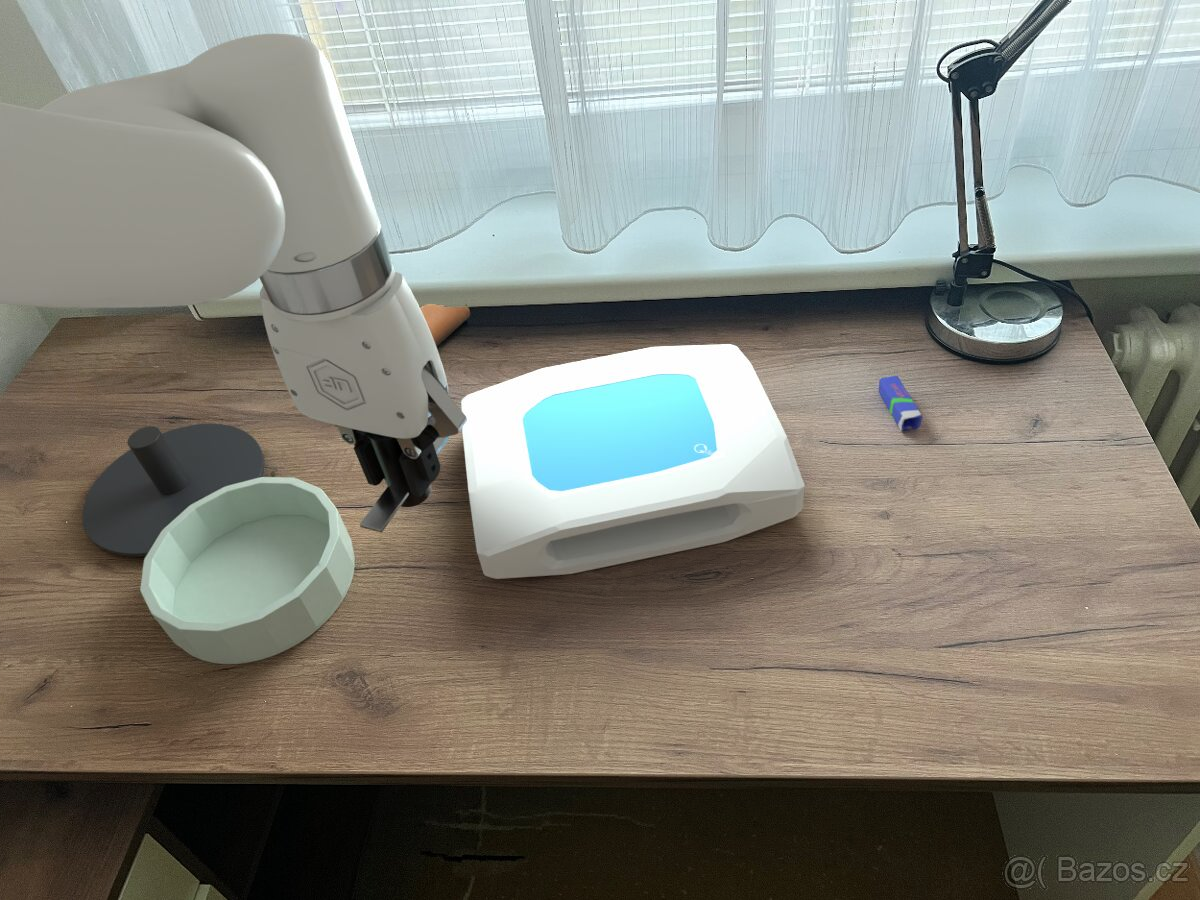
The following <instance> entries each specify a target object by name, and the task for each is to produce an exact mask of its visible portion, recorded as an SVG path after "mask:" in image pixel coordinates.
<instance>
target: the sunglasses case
mask: <svg viewBox="0 0 1200 900" xmlns="http://www.w3.org/2000/svg"><path fill="white" fill-rule="evenodd" d="M423 305H424V306H423ZM423 305H421V306H422V307H420V309H421V311H422V314H423V316H424V318H425V320H426V322H427V325H428V327H429V329H430V332H431V334H432V337H433V339H434V342H435V345H436V347H437V348H438V346H439V345H440V344H442V343H443V342H444V341H445V340H446V339H447V338H448V337H449V336H450V335H451V334H452V333H453V332H455V331H456V330H457V329H458V328H459V327H460V326H461V325H462V324H463V323H464V322H465V321H466V320H468V319H469V318H470V316H471V311H470V310H471V309H470V308H469V306H468V307H444V305H436V304H429V303H427V304H423Z"/></svg>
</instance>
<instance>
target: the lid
mask: <svg viewBox="0 0 1200 900" xmlns="http://www.w3.org/2000/svg"><path fill="white" fill-rule="evenodd" d="M126 444H127V446H128V447H129V449H128V450H127V451H125V452H124V453H123V454H121V455H120V456H119V457H118V458H116V459H115V460H114V461H113V462H112V463H111V464H109V466H107V467H106V468H105V470H103V471H102V472H101V473H100V475H99V476H98V477H97V479H96V480H95V481H94V483H93V484H92V485H91V487H90V489H89V490H88V492H87V495H86V496H85V499H84V502H83V506H82V510H81V522H82V527H83V530H84V532H85V533H86V535H87V537H88V538H89V539H90V540H91V541H92V543H93V544H95V546H96V547H98V548H100V549H101V550H103V551H105V552H107V553H110V554H113V555H117V556H121V557H130V558H131V557H133V558H136V557H137V558H139V557H141V558H143V557H144V558H145V557H146V556H147V554H148V552H149V551H150V549H151V547H152V546H153V544H154V543H155V541H156V539H157V538H158V536H159V534H160V533H161V531H162V530H163V529H164V528H165V527H166V526H167V525H169V524H170V523H171V522H172V521H173V520H174V519H175V518H176V517H177V516H179V515H180V514H181V513H182V512H183V511H184V510H185V509H186V508H187V507H189V506H190V505H191V504H193V503H195V502H197V501H199V500H201V499H203V498H204V497H206V496H208V495H210V494H212V493H214V492H216V491H218V490H219V489H221V488H223V487H226V486H229V485H233V484H237V483H240V482H244V481H248V480H252V479H256V478H260V477H264V472H265V455H264V453H263V450H262V448H261V446H260V444H259V442H258V441H257V440H256V439H255V438H254V437H253V436H252V435H251V434H250V433H248V432H247V431H246V430H244V429H241V428H239V427H236V426H233V425H229V424H223V423H198V424H191V425H190V424H189V425H186V426H182V427H177V428H174V429H170V430H167V431H164V432H161V430H160V428H159V427H157V426H153V425H152V426H151V425H150V426H144V427H141V428H138V429H137V430H135V431H134V432H132V433H131V434H130V436H129V437H128V439H127V443H126Z"/></svg>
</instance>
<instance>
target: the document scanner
mask: <svg viewBox="0 0 1200 900" xmlns="http://www.w3.org/2000/svg"><path fill="white" fill-rule="evenodd" d="M460 403H461V411H462V412H463V413H464V414H465V416H466V417H467V421H466V423H465V424H464V426H463V427H462V429H461V430H462V440H463V451H464V460H465V470H466V471H465V472H466V479H467V480H466V481H467V489H468V497H469V505H470V506H469V507H470V512H471V521H472V527H473V533H474V540H475V547H476V548H475V549H476V554H477V557H478V560H479V564H480V566H481V570H482V573H483V575H484V576H485V577H488V578H490V579H491V578H492V579H495V580H500V579H513V578H514V579H516V578H517V579H518V578H529V577H532V578H533V577H545V576H560V575H572V574H577V573H581V572H587V571H592V570H596V569H601V568H607V567H612V566H616V565H620V564H621V565H622V564H626V563H630V562H634V561H639V560H645V559H649V558H654V557H658V556H659V557H660V556H664V555H669V554H674V553H679V552H683V551H688V550H693V549H698V548H702V547H706V546H707V547H708V546H712V545H717V544H721V543H725V542H726V543H727V542H729V541H731V540H734V539H737V538H739V537H742V536H745V535H748V534H751V533H753V532H757V531H759V530H762V529H766V528H768V527H771V526H773V525H776V524H779V523H782V522H784V521H787V520H790V519H793V518H795V517H796V516H797V515H798V514H799V513H800V512H801V511H802V510H803V509H804V501H805V500H804V499H805V491H806V490H805V488H806V485H805V482H804V480H803V477H802V474H801V471H800V468H799V466H798V463H797V460H796V458H795V455H794V452H793V449H792V446H791V443H790V440H789V438H788V435H787V433H786V432H785V429H784V428H783V425H782V424H781V421H780V419H779V417H778V415H777V413H776V410H775V409H774V407H773V405H772V403H771V401H770V399H769V397H768V395H767V393H766V391H765V388H764V386H763V385H762V383H761V381H760V379H759V376H758V374H757V373H756V371H755V368H754V367H753V365H752V363H751V362H750V361H749V359H748V358H747V357H746V356H745V355H744V353H743V352H742V351H741V350H740V348H739V347H738V346H737V345H734V344H731V343H729V344H728V343H726V344H724V343H723V344H702V345H701V344H700V345H699V344H698V345H673V346H670V345H669V346H650V347H646V348H642V349H641V348H640V349H636V350H631V351H624V352H620V353H614V354H609V355H605V356H604V355H603V356H600V357H599V356H598V357H595V358H588V359H584V360H579V361H572V362H568V363H564V364H559V365H553V366H547V367H543V368H540V369H536V370H534V371H531V372H528V373H525V374H523V375H519V376H517V377H514V378H512V379H508V380H505V381H502V382H500V383H498V384H494V385H491V386H489V387H486V388H482V389H480V390H477V391H475V392H472V393H469V394H467V395H465V396H464V397H463V398H462V399H461V402H460Z"/></svg>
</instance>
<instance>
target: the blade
mask: <svg viewBox="0 0 1200 900" xmlns="http://www.w3.org/2000/svg"><path fill="white" fill-rule="evenodd" d="M366 435H367V438H368V440H369V443H370V445H371V448H372V450H373V453H374V455H375V457H376V460H377V462H378V465H379V467H380V470H381V472H382V475H383V477H384V479H383V481H384V482H385V485H386V488H385V489H384V490H383V492H382V493H381V495H380V496H379V498H378V499H377V500H376V501H375V503H374V504H373V506H372V507H371V508H370V510H369V511H368V512H367V514H366V515H365V516H364V518H363V519H362V521H361V522H359V527H360V528H362V529H366V530H369V531H373V532H377V533H381V534H382V533H383V532H384V531H385V529H386V528H387V526H388V525H389V524H390V522H391V521H392V519H393V518H394V517H395V515H396V513H398V510H400V508H401V507H402V508H413V507H416V506H418V505H422V503H424V502H425V501H427V499H428V498H429V497H430V495H431V492H432V485H431V484H430V485H429V487H428V488H427V490H426V491H425V493H424V494H423V495H422V496H421V497H419V496H415V495H413V494H412V493H411V490H410V488H409V485H408V482H407V480H406V477H405V474H404V472H403V469H402V467H401V464H400V461H399V458H400V455H401V454H402V453H403V451H402V449H401V446H400V444H399V442H398V440H397V438H395V437H389V436H384V435H379V434H374V433H370V432H366ZM449 439H450V436H448V437H444V438H442V437H440V438H437V439H436V440H435V442H433V444H434V447H435V450H436V453H437V455H438V454H439V453H440V452H441V450H442V449H443V448H444V446H445V445H446V443H447V442H448V440H449Z"/></svg>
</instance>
